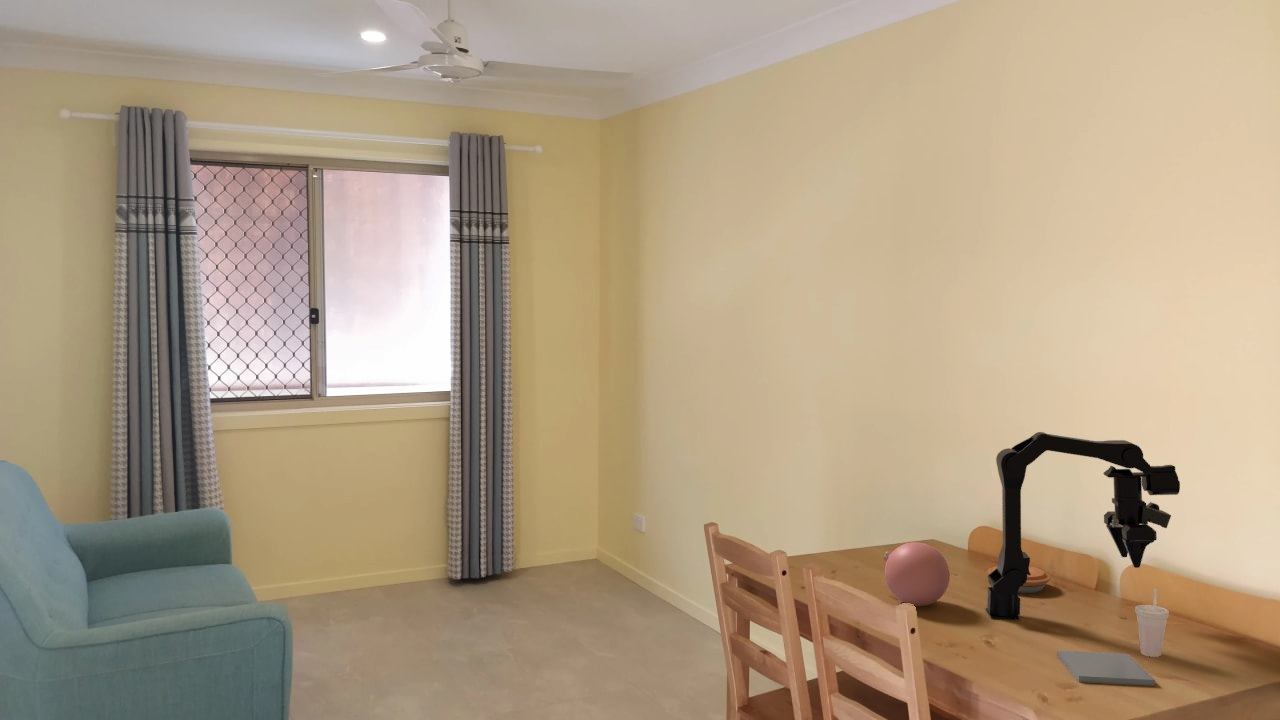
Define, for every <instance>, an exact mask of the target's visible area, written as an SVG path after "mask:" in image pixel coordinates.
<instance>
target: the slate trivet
mask: <svg viewBox="0 0 1280 720" xmlns="http://www.w3.org/2000/svg"><path fill="white" fill-rule="evenodd" d="M1056 656H1057V657H1058V659H1059V660H1060V661H1061V662H1062V664H1063V665H1064V666H1065V668H1066V669H1067V670H1069V672H1070V673H1071V675H1072V676H1073V677H1074V678H1075V679H1076V681H1077V682H1078V683H1089V684H1090V683H1092V684H1109V685H1110V684H1112V685H1129V686H1131V685H1132V686H1146V687H1147V686H1150V687H1151V686H1152V687H1155V686H1156V679H1155V678H1154V677H1152V675H1151V674H1149V672H1147V671H1146V669H1144V667H1142V666H1141V665H1140V663H1138V662H1137V661H1136V660H1135V658H1133V657H1132V656H1131V655H1130V654H1129V653H1122V652H1121V653H1119V652H1118V653H1117V652H1116V653H1115V652H1099V651H1097V652H1096V651H1095V652H1093V651H1077V650H1059V649H1058V650H1057V651H1056Z"/></svg>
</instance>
